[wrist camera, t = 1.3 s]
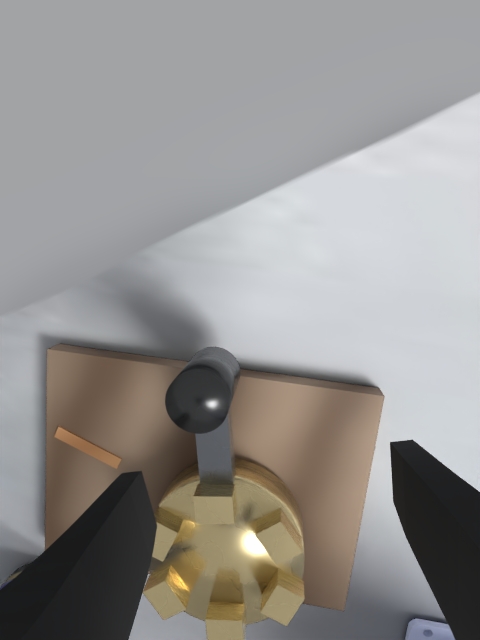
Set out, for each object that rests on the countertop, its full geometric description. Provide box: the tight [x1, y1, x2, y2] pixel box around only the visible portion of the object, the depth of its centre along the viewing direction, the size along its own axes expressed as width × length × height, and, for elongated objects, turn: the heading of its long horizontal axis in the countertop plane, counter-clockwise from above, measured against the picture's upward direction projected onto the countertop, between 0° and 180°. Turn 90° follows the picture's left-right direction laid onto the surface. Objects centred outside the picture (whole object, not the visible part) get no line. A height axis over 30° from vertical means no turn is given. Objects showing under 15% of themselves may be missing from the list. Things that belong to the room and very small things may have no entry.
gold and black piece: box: [143, 347, 305, 640], centre depth 19 cm, size 14×8×5 cm, turn 4°
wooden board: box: [45, 344, 384, 611], centre depth 23 cm, size 18×13×1 cm
